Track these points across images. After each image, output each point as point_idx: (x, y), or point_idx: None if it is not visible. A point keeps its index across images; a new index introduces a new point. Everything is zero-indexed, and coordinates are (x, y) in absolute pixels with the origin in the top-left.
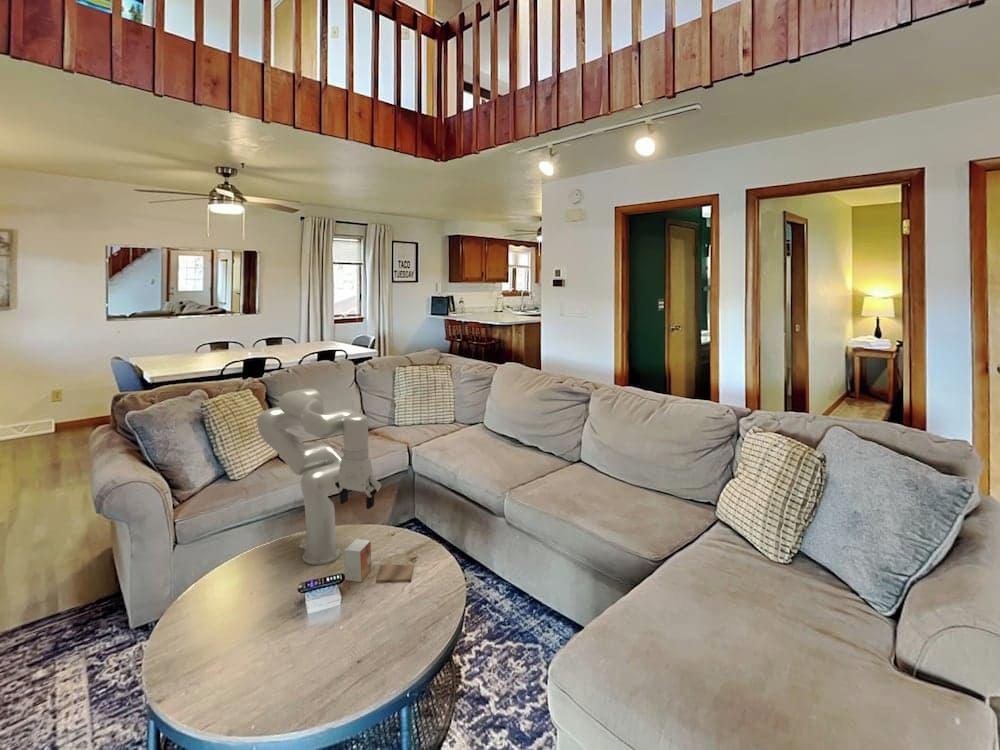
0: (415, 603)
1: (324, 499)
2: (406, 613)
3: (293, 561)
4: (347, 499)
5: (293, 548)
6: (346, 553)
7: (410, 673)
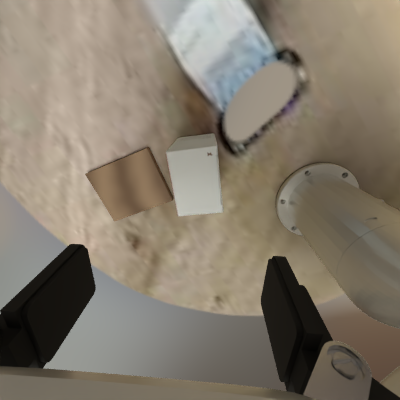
0: (28, 105)
1: None
2: (17, 63)
3: (369, 162)
4: (263, 304)
5: None
6: (209, 143)
7: None
